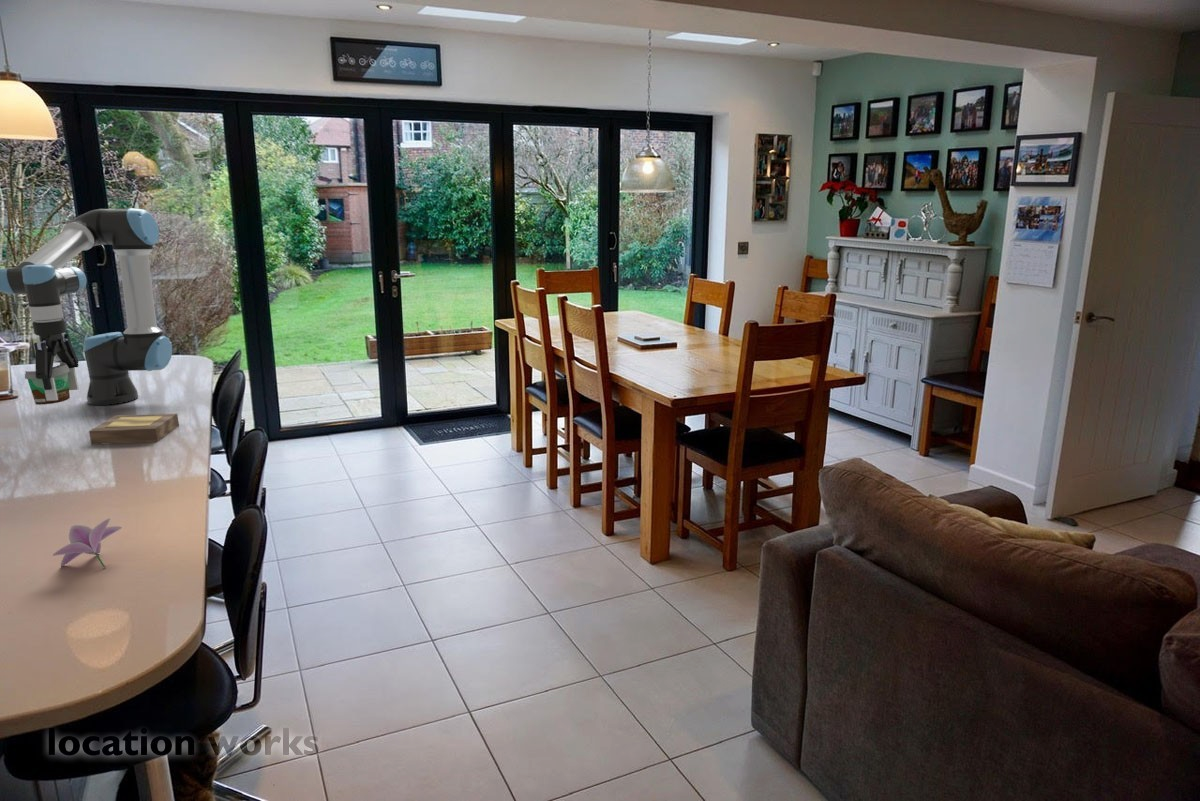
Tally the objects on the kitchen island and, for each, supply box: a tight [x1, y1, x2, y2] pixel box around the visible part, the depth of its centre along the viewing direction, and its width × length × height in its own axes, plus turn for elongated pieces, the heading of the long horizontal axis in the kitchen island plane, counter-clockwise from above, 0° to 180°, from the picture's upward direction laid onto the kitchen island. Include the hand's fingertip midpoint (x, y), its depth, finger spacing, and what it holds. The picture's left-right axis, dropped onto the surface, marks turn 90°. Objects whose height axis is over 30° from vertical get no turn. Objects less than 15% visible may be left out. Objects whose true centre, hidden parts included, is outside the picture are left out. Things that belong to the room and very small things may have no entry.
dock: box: [88, 413, 180, 445], centre depth 233 cm, size 16×18×4 cm
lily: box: [52, 517, 122, 568], centre depth 152 cm, size 12×12×10 cm
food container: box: [24, 361, 71, 406], centre depth 226 cm, size 12×6×10 cm, turn 167°
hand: (63, 394), depth 228 cm, fingers closed on food container, 11 cm apart
